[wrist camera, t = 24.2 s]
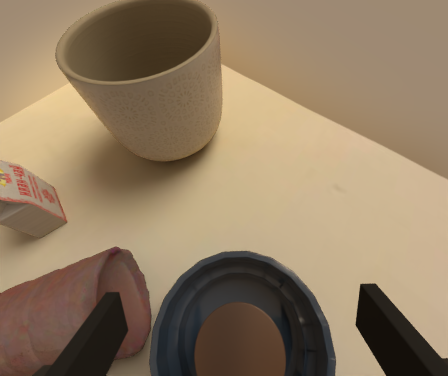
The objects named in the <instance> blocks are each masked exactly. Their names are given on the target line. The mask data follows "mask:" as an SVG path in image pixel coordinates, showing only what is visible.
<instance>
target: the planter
mask: <svg viewBox="0 0 448 376" xmlns="http://www.w3.org/2000/svg"><path fill="white" fill-rule="evenodd" d="M55 56H56V61H57V64H58V66H59V68H60V69H61V71H62V72H63V74H64V75H65V76H66V78H67V79H68V80H69V82H70V83H71V84H72V86H73V87H74V88H75V89H76V91H77V92H78V93H79V94H80V96H81V97H82V98H83V99H84V101H85V102H86V103H87V104H88V106H89V107H90V108H91V109H92V111H93V112H94V113H95V114H96V116H97V117H98V118H99V120H100V121H101V122H102V123H103V124H104V126H105V127H106V128H107V129H108V130H109V131H110V133H111V134H112V135H113V136H114V137H115V138H116V139H117V140H118V141H119V142H120V143H121V144H122V145H123V146H124V147H125V148H127V149H128V150H129V151H131V152H132V153H134V154H136V155H138V156H140V157H143V158H145V159H149V160H154V161H173V160H178V159H182V158H185V157H187V156H190V155H192V154H194V153H195V152H197V151H199V150H200V149H201V148H203V147H204V146H205V145H206V144H207V143H208V142H209V141H210V140H211V139H212V137H213V136H214V134H215V132H216V130H217V128H218V126H219V123H220V120H221V114H222V73H221V56H220V38H219V27H218V21H217V18H216V15H215V14H214V12H213V11H212V10H211V9H210V8H209V7H208V6H207V5H205V4H204V3H202V2H200V1H198V0H119V1H116V2H113V3H110V4H108V5H105V6H103V7H100V8H98V9H96V10H94V11H92V12H91V13H88V14H87V15H85V16H84V17H82V18H80V19H79V20H78V21H76V22H75V23H74V24H73V25H72V26H71V27H69V28H68V29H67V31H66V32H65V33H64V34H63V35H62V37H61V39H60V40H59V42H58V44H57V47H56V53H55Z"/></svg>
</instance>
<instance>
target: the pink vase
mask: <svg viewBox="0 0 448 376" xmlns="http://www.w3.org/2000/svg"><path fill="white" fill-rule="evenodd" d="M106 292H119V293H120V297H121V301H122V305H123V309H124V313H125V318H126V322H127V326H128V332H127V334H126V336H125V338H124V340H123V342H122V344H121V346H120V348H119V350H118V352H117V354H116V356H115V358H114V360H116V359H121V358H127V357H130V356H134V355H135V354H136V353H137V352H139V351H140V350H141V349H142V348H143V346H144V344H145V342H146V339H147V337H148V334H149V332H150V329H151V327H150V323H151V309H150V303H149V291H148V289H147V287H146V282H145V278H144V275H143V274H142V272H141V271H140V270H139V267H138V265H137V263H136V261H135V260H134V258H133V255H132V253H131V252H130V251H129V250H125V249H120V248H119V247H114V248H111V249H108V250H106V251H103V252H101V253H99V254H96V255H94V256H92V257H89V258H85V259H82V260H80V261H79V262H76V263H74V264H71V265H69V266H67V267H65V268H63V269H58V270H55V271H53V272H50V273H48V274H46V275H43V276H41V277H39V278H37V279H35V280H31V281H27V282H24V283H22V284H19V285H17V286H14V287H12V288H10V289H8V290H6V291H4V292H2V293H0V376H31V375H33V374H34V373H35V372H36V371H38V370H39V369H40V368H41V367H42V366H43V365H52V364H53V363H54V362H55V360H56V359H57V358H58V356H59V355H60V354H61V352H62V351H63V350H64V348H65V347H66V346H67V344H68V343H69V342H70V340H71V339H72V337H73V336H74V335H75V333H76V332H77V331H78V329H79V328H80V327H81V325H82V324H83V323H84V321H85V320H86V319H87V317H88V316H89V315H90V313H91V312H92V311H93V309H94V308H95V307H96V305H97V304H98V302H99V301H100V300H101V298H102V297H103V296H104V294H105V293H106Z"/></svg>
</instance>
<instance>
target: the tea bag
mask: <svg viewBox="0 0 448 376" xmlns="http://www.w3.org/2000/svg"><path fill="white" fill-rule="evenodd" d="M65 223H67V220H66V217H65V215H64V212H63V209H62V207H61V204H60V202H59V199H58V196H57V194H56V191H55V189H54V187H52V186H51V185H49V184H48V183H46V182H45V181H43V180H42V179H40V178H39V177H37V176H36V175H34V174H33V173H31V172H30V171H28V170H26V169H25V168H23V167H22V166H20V165H18V164H14V163H10V162H6V161H1V160H0V224H2V225H5V226H7V227H10V228H13V229H16V230H19V231H21V232H24V233H27V234H30V235H32V236H35V237H38V238H41V237H43V236H45V235H47V234H48V233H50V232H52V231H53V230H55V229H57V228H58V227H60V226H62V225H63V224H65Z"/></svg>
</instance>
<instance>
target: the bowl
mask: <svg viewBox="0 0 448 376" xmlns="http://www.w3.org/2000/svg"><path fill="white" fill-rule="evenodd" d="M231 302H245V303H249V304H252V305H254V306H256V307H258V308H260V309H261V310H263V311H264V312H265V313H266V314H267V315H268V316H269V317H270V318H271V319H272V320H273V322H274V323H275V325H276V326H277V328H278V330H279V332H280V334H281V337H282V340H283V343H284V348H285V355H286V367H285V374H284V376H335V368H336V357H335V352H334V347H333V343H332V338H331V333H330V329H329V325H328V322H327V320H326V318H325V316H324V314H323V312H322V310H321V308H320V306H319V304H318V302H317V300H316V298H315V296H314V295H313V293H312V292H311V291H310V290H309V288H308V287H307V286H306V285H305V284H304V283H303V282H302V280H301V279H300V278H299V277H298V276H297V275H296V274H295V273H294V272H293V271H292V270H290V269H289V268H287V267H285V266H284V265H282V264H281V263H279V262H278V261H276V260H275V259H273V258H271V257H268V256H264V255H261V254H257V253H253V252H250V251H230V252H222V253H219V254H216V255H213V256H211V257H208V258H205V259H203V260H201V261H199V262H198V263H197V264H195V265H194V266H193V267H191V268H190V269H189V270H188V271H186V272H185V273H184V274H182V275H181V276H180V277H179V279H178V280H177V281H176V283H175V284H174V286H173V287H172V288H171V290H170V291H169V292H168V294H167V295H166V297H165V298H164V300H163V303H162V305H161V308H160V311H159V313H158V316H157V318H156V321H155V324H154V326H153V331H152V340H151V349H150V359H149V365H150V372H151V376H197V373H196V369H195V361H194V351H195V343H196V339H197V335H198V332H199V330H200V328H201V326H202V324H203V322H204V321H205V320H206V318H207V317H208V316H209V315H210V314H211V313H212V312H213V311H214V310H215V309H217V308H218V307H220V306H222V305H225V304H227V303H231Z"/></svg>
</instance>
